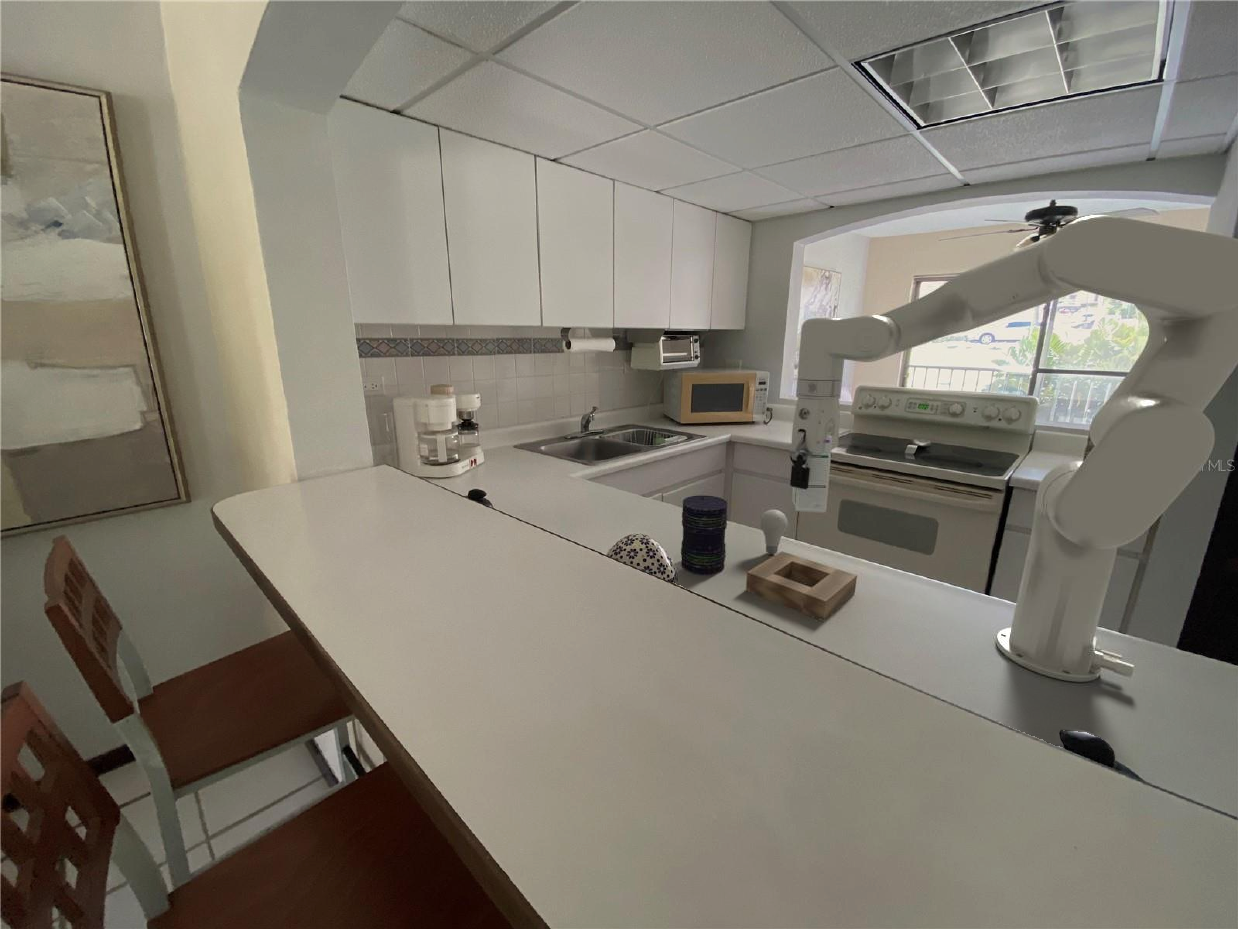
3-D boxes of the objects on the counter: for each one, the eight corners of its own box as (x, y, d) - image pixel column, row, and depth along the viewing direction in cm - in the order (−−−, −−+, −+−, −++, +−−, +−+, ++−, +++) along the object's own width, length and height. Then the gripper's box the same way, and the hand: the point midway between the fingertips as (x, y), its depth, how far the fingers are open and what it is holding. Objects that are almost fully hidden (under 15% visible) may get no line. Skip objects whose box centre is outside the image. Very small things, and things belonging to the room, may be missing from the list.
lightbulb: (788, 552, 117) (791, 508, 114) (780, 562, 112) (784, 516, 109) (762, 547, 120) (765, 504, 117) (754, 556, 115) (757, 511, 112)
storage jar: (729, 575, 106) (732, 509, 102) (683, 575, 106) (685, 510, 102) (719, 555, 115) (722, 494, 112) (678, 556, 115) (679, 495, 112)
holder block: (854, 593, 98) (857, 575, 97) (823, 621, 88) (826, 601, 87) (780, 567, 109) (781, 551, 108) (745, 590, 99) (747, 572, 98)
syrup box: (827, 513, 91) (834, 436, 87) (793, 511, 92) (799, 435, 88) (821, 503, 96) (828, 430, 93) (789, 501, 97) (795, 429, 94)
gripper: (817, 394, 80) (807, 497, 84) (858, 387, 92) (848, 477, 96) (774, 391, 85) (767, 488, 90) (819, 384, 97) (811, 470, 101)
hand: (809, 482), depth 93 cm, fingers closed on syrup box, 7 cm apart
